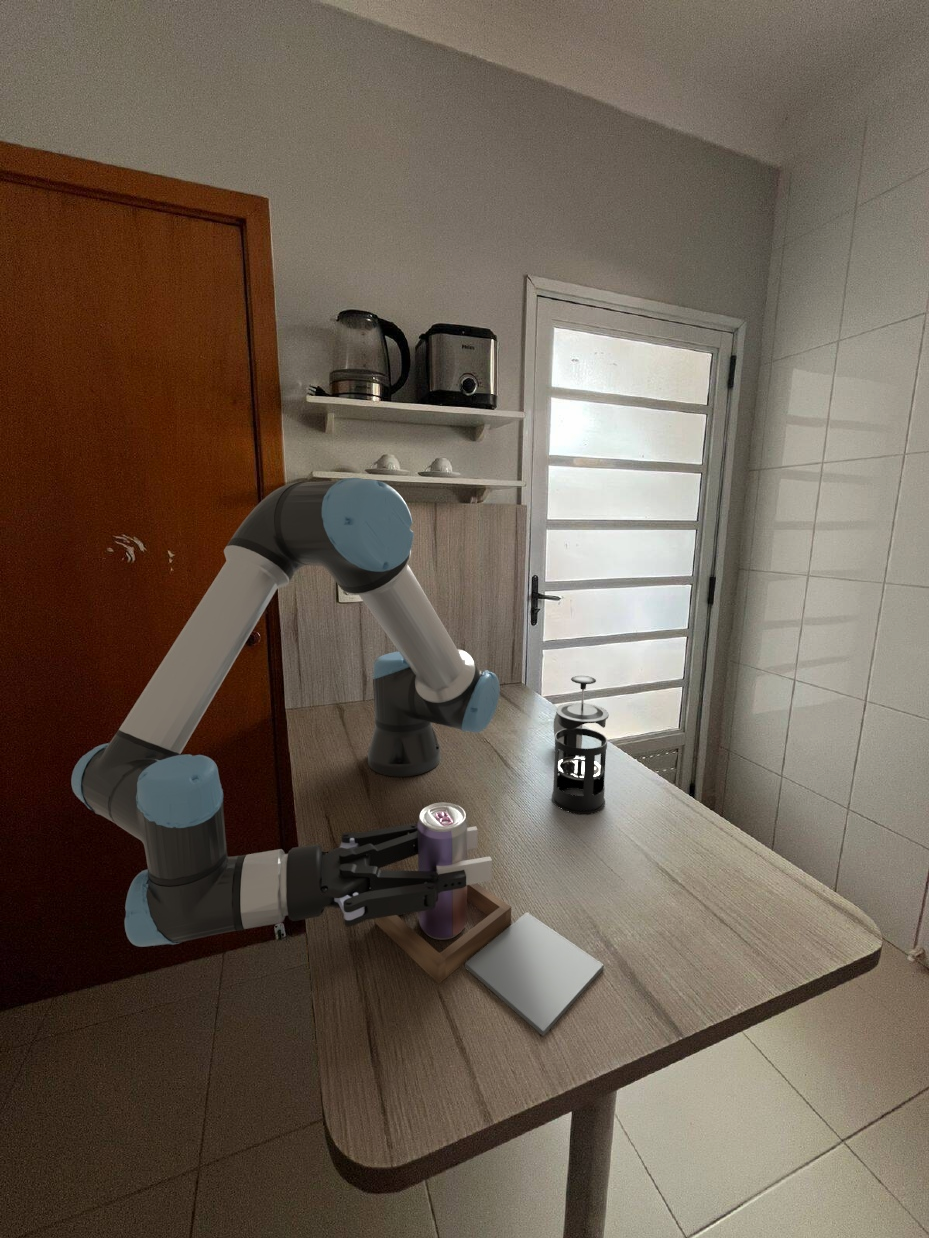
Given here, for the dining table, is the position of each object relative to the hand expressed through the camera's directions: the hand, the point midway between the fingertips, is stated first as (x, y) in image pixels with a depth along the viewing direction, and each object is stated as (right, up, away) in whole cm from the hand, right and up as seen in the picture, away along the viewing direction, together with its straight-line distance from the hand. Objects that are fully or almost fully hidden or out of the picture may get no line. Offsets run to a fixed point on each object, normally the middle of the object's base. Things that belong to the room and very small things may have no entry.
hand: (483, 852), depth 64 cm
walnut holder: (-5, -9, 0) cm, 10 cm away
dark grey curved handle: (+20, 0, +47) cm, 51 cm away
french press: (+18, -4, +29) cm, 35 cm away
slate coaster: (+5, -10, -6) cm, 13 cm away
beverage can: (-5, -9, 0) cm, 11 cm away
